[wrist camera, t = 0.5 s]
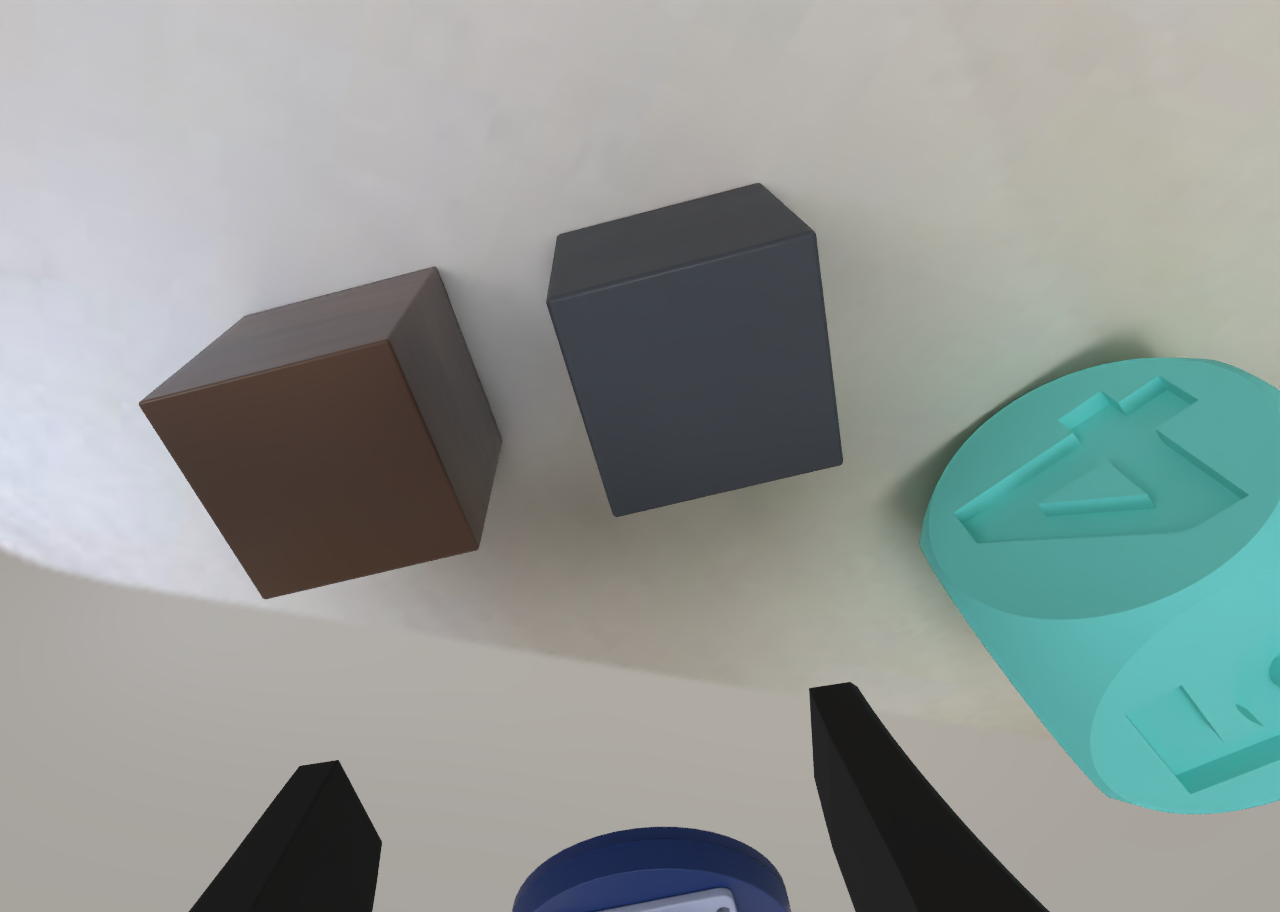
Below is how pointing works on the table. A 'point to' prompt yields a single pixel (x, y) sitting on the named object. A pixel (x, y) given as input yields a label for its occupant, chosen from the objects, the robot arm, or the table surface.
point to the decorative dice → (1130, 573)
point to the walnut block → (336, 435)
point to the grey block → (697, 348)
